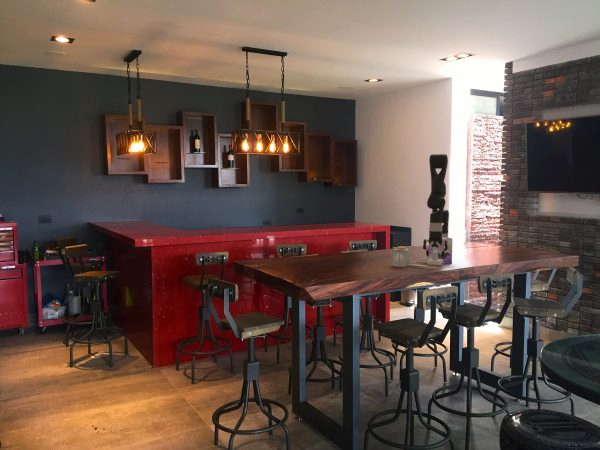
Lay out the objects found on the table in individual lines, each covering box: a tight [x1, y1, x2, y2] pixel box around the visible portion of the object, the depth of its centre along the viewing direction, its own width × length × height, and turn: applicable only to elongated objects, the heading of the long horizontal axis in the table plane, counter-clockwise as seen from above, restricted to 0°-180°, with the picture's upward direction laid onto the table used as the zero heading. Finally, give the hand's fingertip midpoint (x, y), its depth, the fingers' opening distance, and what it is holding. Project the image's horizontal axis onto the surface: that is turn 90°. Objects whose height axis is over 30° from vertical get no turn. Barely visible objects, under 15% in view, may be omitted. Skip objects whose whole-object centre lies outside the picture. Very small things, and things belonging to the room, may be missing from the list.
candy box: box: [427, 237, 453, 265], centre depth 321 cm, size 14×6×16 cm, turn 101°
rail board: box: [405, 260, 444, 270], centre depth 308 cm, size 10×20×3 cm, turn 63°
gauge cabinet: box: [392, 248, 411, 268], centre depth 313 cm, size 10×8×10 cm
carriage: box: [426, 251, 443, 265], centre depth 304 cm, size 8×8×8 cm
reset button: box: [396, 245, 407, 250], centre depth 313 cm, size 4×4×4 cm
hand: (435, 256), depth 304 cm, fingers open, 8 cm apart
